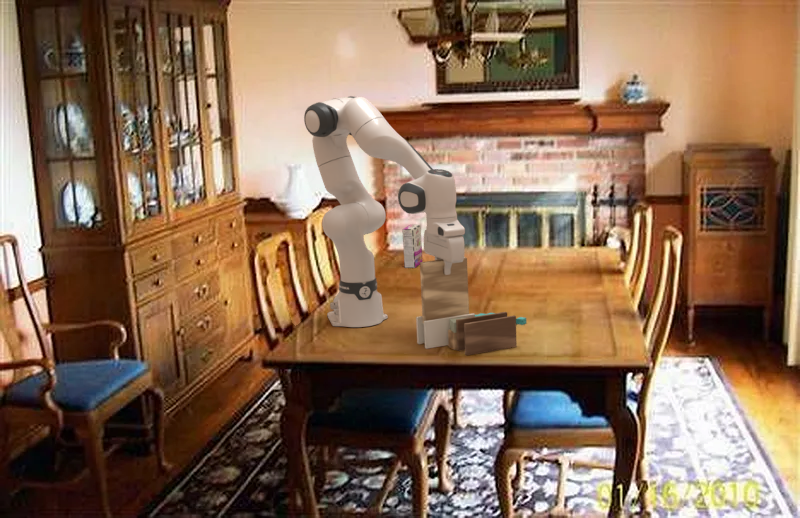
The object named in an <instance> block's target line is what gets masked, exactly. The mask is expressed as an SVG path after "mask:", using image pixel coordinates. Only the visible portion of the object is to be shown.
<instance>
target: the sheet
mask: <svg viewBox="0 0 800 518" xmlns="http://www.w3.org/2000/svg"><path fill="white" fill-rule="evenodd" d="M444 265H445V263H444V260H443V259H442V260H435V259H434V260H427V261H423V262H420V265H419V272H420V290H421V291H420V292H421V293H420V294H421V295H420V296H421V314H422V315H421V316H422V319H423V323H424V321H428V320H434V319H441V318H447V317H453V316H460V315H466V314H470V303H469V300H470V299H469V278H468V257H465V256H464V260H463V262H459V263H452V266H451V274H449V275H445V274H443V268H444Z"/></svg>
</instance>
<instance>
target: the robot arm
mask: <svg viewBox="0 0 800 518" xmlns="http://www.w3.org/2000/svg"><path fill="white" fill-rule="evenodd" d="M382 114H383V113H381V112H380V110H379V109H378V108H377V107H376V106H375V105H374V104H373V103H372V102H371V101H370V100H369V99H368V98H366V97H364V96H352V95H350V96H347V97H345V96H344V97H335V98H334V97H333V98H331V99H327V100H325V101H319V102H316V103H313V104H311V105H310V106H308V107H307V108H306V110H305V111H304V115H303V116H304V117H303V118H304V119H303V121H304V126H305V128H306V130H307V131H308V133H309V134H310V135H312V136H313V137H312V148H313V154H314V157H315V162H316V165H317V167H318V171H319V174H320V176H321V179H322V183H323V185H324V188H325V190H326V191H327V193H328V194H331V195H332V196H333V197H334V198H335V199H336V200H337V201H338V203H339V205H337V206H334V207H333V208H332V209H330V210H328V211H326V212H325V213H324V215H323V217H322V220H321V221H322V222H321V226H322V230H323V232H324V234H325V236H327V237H328V239H330V240H331V241H332V242H333V244H334V246H335V249H336V252H337V255H338V260H339V270H340V271H339V272H340V279H339V284H338V290H339V291H338V292H337V294H336V296H335V297H334V298H333V301H332V302H330V303H329V306H330V310H332V311H329V312H327V313H326V314H327V316H326V317H327V318H328V320H329V321H330V324H331V325H332V327H348V328H362V327H371V326H375V325H379V324H381V323H383V321H384V320H387V319H388V314H386V313H384V307H383V305H384V304H383V298H382V294H381V292H378V281H377V277H376V267H375V254H374V253H373V252H372V251H371V250H369V248H368V247H367V245H366V243H365V239H364V236H366V235H368V234H373V233H374V232H376V231H377V230H379V229H380V228H381V227H383V225H384V224H385V221H386V218H387V217H386V211H385V210H386V209H385V208H384V206H383V204H381V203H380V201H377V199H374V197H372V195H371V194H370V192H368V190H367V189H366V187H365V186H364V184H363V183H362V181H361V179H360V177H359V176H360V175H359V174H358V172H357V169H356V166H355V163H354V161H353V158H352V155H351V152H350V150H349V147H348V144H347V143H348V142H347V138H348V136H352V138H353V139H354V141H355V143H356V144H357V145H358V147H359V148H360V149H361V150H362V151H363V152H364V153H365V154H367V155H368V156H370V157H372V158H373V159H374V158H375V159H381V160H386V161H390V162H393V163H394V162H395V163H396V164H398V165H400V166H402V167H403V168H404V169H405V170H406V172H408V173H409V175H410V176H411V177H412V178H413V180H410V181H407V182H405V183H403V184H402V185H401V186H400V188H399V189H398V193H397V200H398V204H399V206H400V208H401V209H402V210H403V212H404V213H406V214H411V215H412V214H413V215H414V214H415V215H416V214H422V213H424V214H425V215H426V216H425V217H426V227H425V230H424V232H423V233H424V234H423V251H424V253H425V254H427V255H429V256H433V257H434V260H442V259H443V260H444V263H445V265H444V268H443V274H445V275H449V274H451V266H452V263H459V262H463V260H464V257H465V239H464V235H465V233H466V228H465V227H464V226H463V225H462V223H460V221H459V220H458V213H457V210H456V203H457V189H456V187H457V186H456V181H455V177H454V175H453V173H452V172H450V171H448V170H447V169H439V168H438V169H437V168H434V169H433V168H432V166H431V165H430V164H429V163H428V162H427V161H426V159H425V158H424V157H423V156H422V155H421V154H420V153H419V151H418V150H417V149H416V148H415V147H414V146H413V145H412V144H411V143H410V142H409V141H408V140H407V139H405V138H404V137H402V136H401V135H400V134H399V133H398V132H397V131H396V130H395V129H394V128H393V127H392V126H391V124H389V122H388V121H387V120H386V118H385V117H384V116H383V115H382Z"/></svg>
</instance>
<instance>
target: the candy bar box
mask: <svg viewBox="0 0 800 518" xmlns="http://www.w3.org/2000/svg"><path fill="white" fill-rule="evenodd" d="M401 231H402V244H403V246H402V247H403V261H404V262H403V263H404V268H405V269H416V268H417V267H420V262H424V261H423V249H422V247H423V245H422V226H421V224H410V225H408V226H406V227H404V228H402V230H401Z"/></svg>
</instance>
